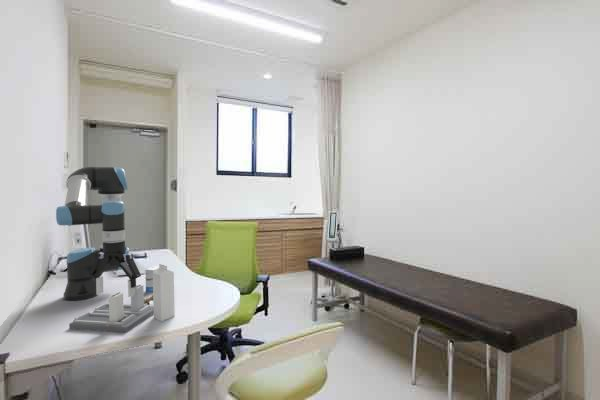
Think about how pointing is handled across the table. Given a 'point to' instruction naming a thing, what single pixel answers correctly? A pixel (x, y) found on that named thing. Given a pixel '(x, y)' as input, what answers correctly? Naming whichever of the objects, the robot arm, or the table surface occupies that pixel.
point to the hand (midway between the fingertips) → (115, 294)
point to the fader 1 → (116, 307)
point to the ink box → (150, 278)
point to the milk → (163, 293)
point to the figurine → (148, 300)
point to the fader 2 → (137, 299)
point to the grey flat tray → (102, 323)
